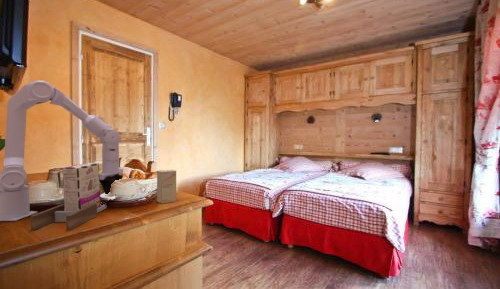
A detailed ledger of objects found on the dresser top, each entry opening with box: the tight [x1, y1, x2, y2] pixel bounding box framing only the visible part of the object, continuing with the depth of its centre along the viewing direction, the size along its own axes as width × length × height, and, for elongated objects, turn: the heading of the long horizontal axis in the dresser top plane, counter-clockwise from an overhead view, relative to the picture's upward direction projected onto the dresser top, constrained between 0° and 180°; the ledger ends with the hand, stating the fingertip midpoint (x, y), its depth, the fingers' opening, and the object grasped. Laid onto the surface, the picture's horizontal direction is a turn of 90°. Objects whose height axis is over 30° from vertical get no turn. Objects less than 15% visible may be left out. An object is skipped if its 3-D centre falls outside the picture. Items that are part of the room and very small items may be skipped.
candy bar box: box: [61, 162, 101, 211], centre depth 78 cm, size 11×5×16 cm, turn 3°
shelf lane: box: [30, 203, 98, 232], centre depth 72 cm, size 11×12×4 cm
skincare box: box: [156, 169, 177, 204], centre depth 94 cm, size 6×4×12 cm
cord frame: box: [54, 204, 107, 223], centre depth 84 cm, size 7×25×5 cm, turn 1°
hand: (111, 194), depth 95 cm, fingers open, 3 cm apart
